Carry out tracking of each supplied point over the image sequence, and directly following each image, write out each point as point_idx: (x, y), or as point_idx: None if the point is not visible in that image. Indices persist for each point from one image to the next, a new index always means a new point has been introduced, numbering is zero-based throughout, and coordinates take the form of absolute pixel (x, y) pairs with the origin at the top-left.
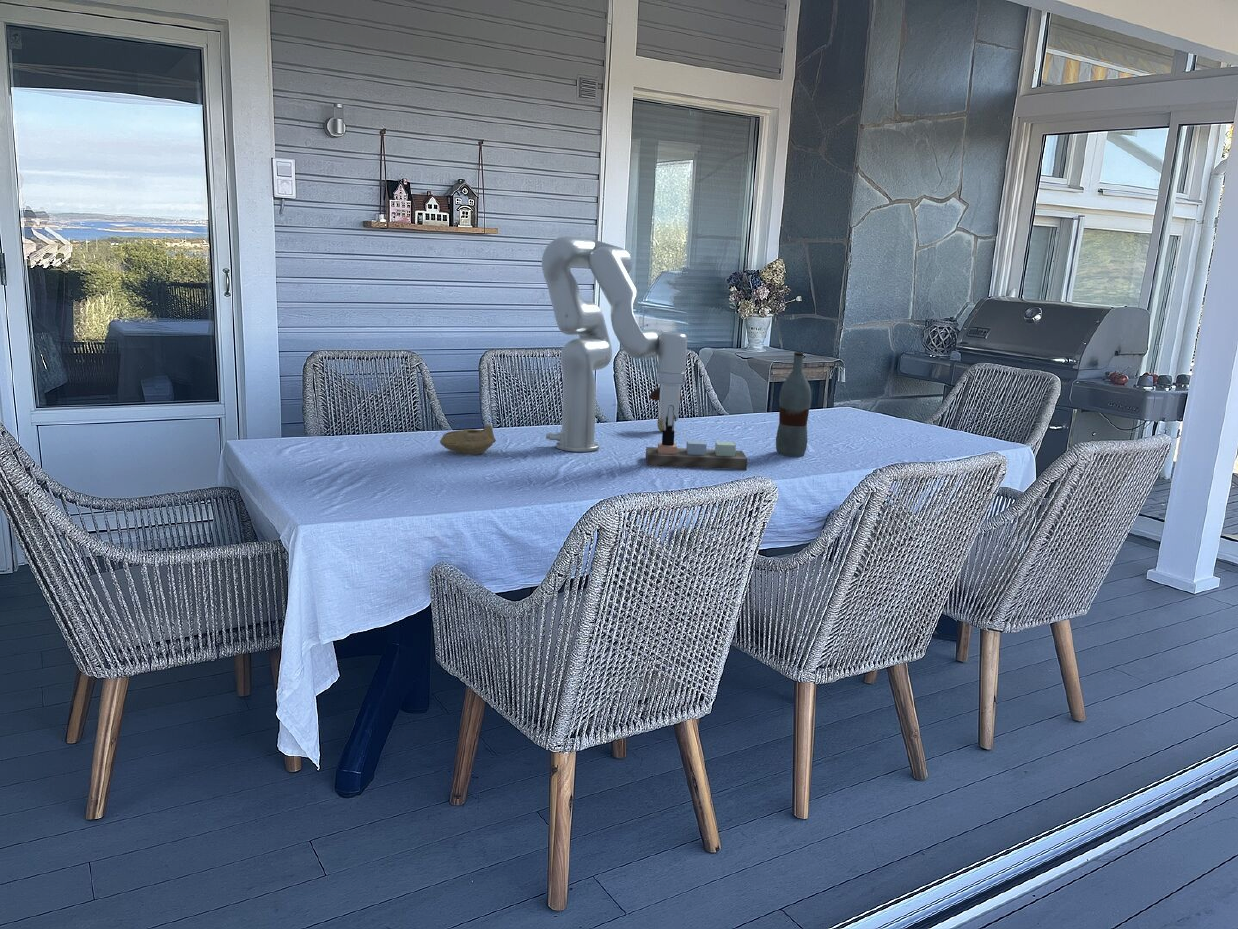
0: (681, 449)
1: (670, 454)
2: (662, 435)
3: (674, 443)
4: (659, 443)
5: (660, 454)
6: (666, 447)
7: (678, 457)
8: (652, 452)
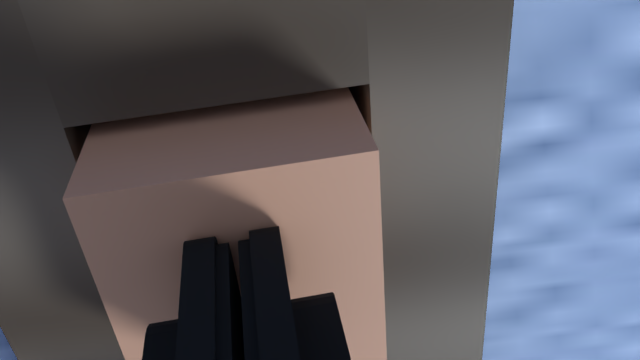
0: (423, 338)
1: (77, 282)
2: (209, 347)
3: (373, 349)
4: (313, 181)
5: (7, 174)
6: (104, 288)
7: (26, 352)
8: (95, 51)
